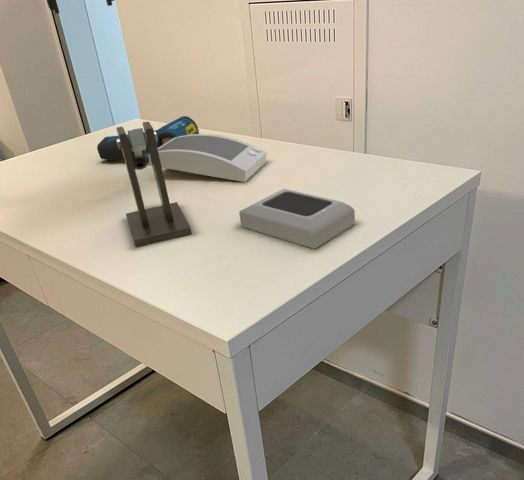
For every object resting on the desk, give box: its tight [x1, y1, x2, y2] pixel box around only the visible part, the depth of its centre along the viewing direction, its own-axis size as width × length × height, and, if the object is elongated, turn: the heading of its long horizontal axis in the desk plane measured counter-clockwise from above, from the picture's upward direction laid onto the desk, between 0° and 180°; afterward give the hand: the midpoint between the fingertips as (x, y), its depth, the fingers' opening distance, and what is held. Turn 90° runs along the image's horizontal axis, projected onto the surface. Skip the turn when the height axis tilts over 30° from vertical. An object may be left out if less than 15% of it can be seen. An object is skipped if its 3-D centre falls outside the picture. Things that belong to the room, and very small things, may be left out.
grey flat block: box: [238, 188, 356, 250], centre depth 84 cm, size 10×4×15 cm
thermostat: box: [148, 133, 267, 183], centre depth 109 cm, size 11×21×6 cm, turn 68°
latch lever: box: [127, 127, 149, 171], centre depth 87 cm, size 13×4×4 cm, turn 17°
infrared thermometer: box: [96, 115, 200, 161], centre depth 123 cm, size 6×13×20 cm
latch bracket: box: [116, 120, 193, 248], centre depth 86 cm, size 12×9×16 cm
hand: (84, 9), depth 90 cm, fingers open, 8 cm apart
